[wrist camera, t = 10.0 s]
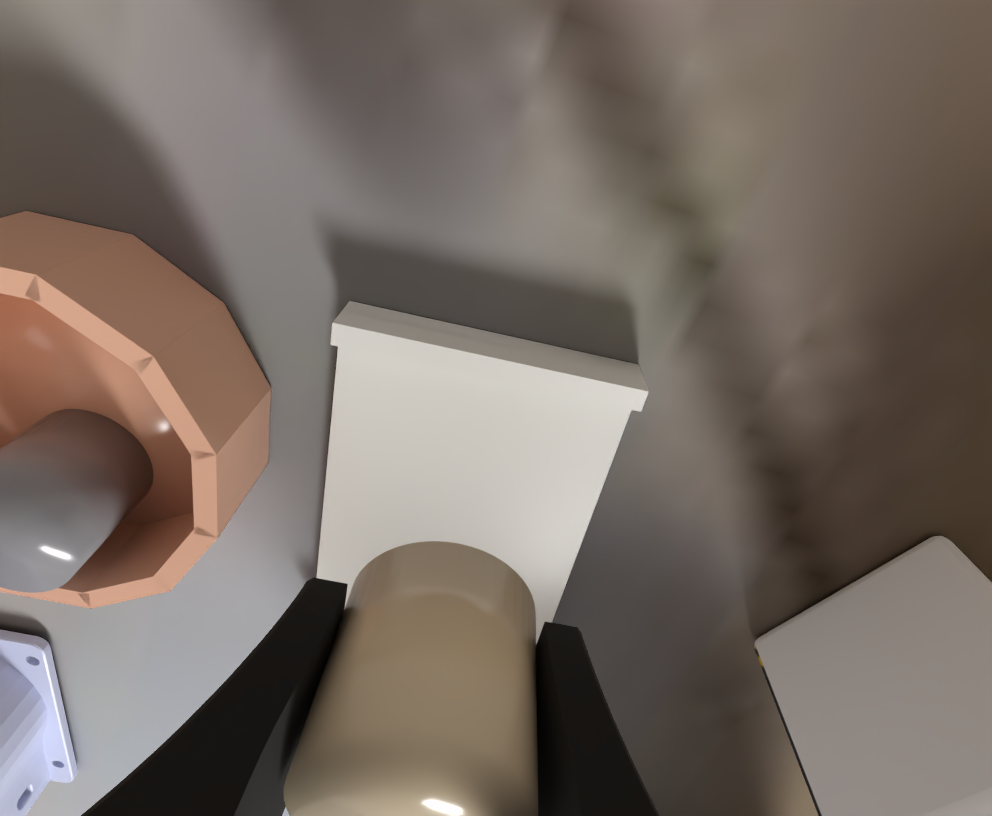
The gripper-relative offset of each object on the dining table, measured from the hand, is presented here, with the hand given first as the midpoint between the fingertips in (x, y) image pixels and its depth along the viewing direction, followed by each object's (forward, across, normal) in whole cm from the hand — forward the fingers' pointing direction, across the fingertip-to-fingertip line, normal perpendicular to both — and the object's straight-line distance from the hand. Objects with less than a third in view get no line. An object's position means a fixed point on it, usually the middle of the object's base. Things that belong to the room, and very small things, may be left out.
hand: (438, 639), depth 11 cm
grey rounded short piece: (+7, +11, +4) cm, 14 cm away
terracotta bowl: (+8, +11, +1) cm, 13 cm away
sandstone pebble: (+1, 0, 0) cm, 1 cm away
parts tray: (+8, 0, +3) cm, 8 cm away
